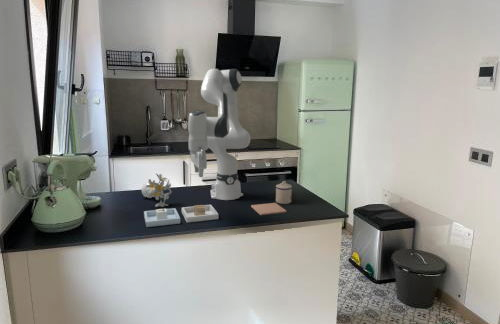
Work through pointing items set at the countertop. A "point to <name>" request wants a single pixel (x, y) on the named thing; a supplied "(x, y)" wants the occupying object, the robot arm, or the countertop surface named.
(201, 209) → the plain oak block
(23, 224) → the countertop surface
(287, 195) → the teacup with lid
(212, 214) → the grey tray
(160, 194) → the flower vase
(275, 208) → the terracotta tile
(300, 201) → the countertop surface
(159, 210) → the letter cube
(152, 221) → the blue grey tray
